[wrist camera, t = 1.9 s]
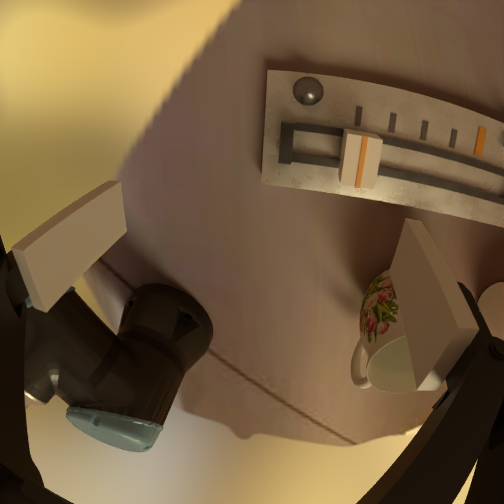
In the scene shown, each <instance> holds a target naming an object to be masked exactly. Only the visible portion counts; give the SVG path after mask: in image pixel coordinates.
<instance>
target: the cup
mask: <svg viewBox="0 0 504 504" xmlns="http://www.w3.org/2000/svg"><path fill="white" fill-rule="evenodd" d="M477 305H478V307H479V309H480V310H479V311H480V312H481V313H482V315H483V317H484V319H485V322H486V324H487V326H488V328H489V330H490V332H491V335H492V336H494V337H498V338H500V339H502V340H503V341H504V282H499V283H495V284H493V285H491V286H490V287H488V288H487V289H486V290H485V291H484V292H483V293H482V295H481V296H480V298H479V300H478V303H477Z"/></svg>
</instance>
